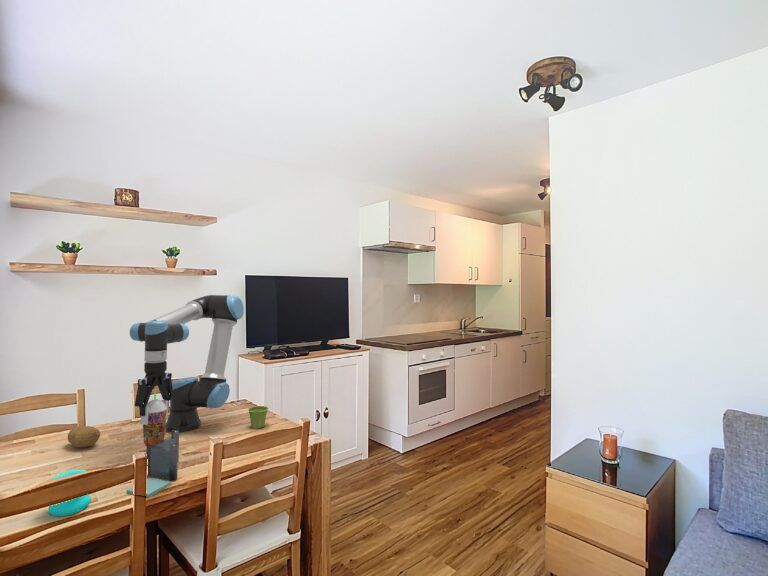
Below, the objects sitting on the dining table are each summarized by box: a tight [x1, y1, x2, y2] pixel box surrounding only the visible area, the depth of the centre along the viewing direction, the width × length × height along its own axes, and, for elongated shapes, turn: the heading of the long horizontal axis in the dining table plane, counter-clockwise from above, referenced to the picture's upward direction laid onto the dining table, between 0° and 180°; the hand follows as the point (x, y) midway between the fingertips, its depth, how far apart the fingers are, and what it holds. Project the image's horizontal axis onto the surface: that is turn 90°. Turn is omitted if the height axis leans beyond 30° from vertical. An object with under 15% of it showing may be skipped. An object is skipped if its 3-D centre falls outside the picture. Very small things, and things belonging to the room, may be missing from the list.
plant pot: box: [247, 405, 269, 430], centre depth 197 cm, size 9×9×9 cm
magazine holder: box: [145, 430, 180, 482], centre depth 149 cm, size 13×14×12 cm
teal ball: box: [47, 469, 91, 517], centre depth 122 cm, size 10×10×10 cm
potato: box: [67, 425, 101, 448], centre depth 169 cm, size 10×14×8 cm
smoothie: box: [142, 392, 167, 447], centre depth 157 cm, size 8×8×20 cm
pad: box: [126, 477, 172, 498], centre depth 135 cm, size 9×9×1 cm
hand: (154, 420), depth 157 cm, fingers closed on smoothie, 8 cm apart
